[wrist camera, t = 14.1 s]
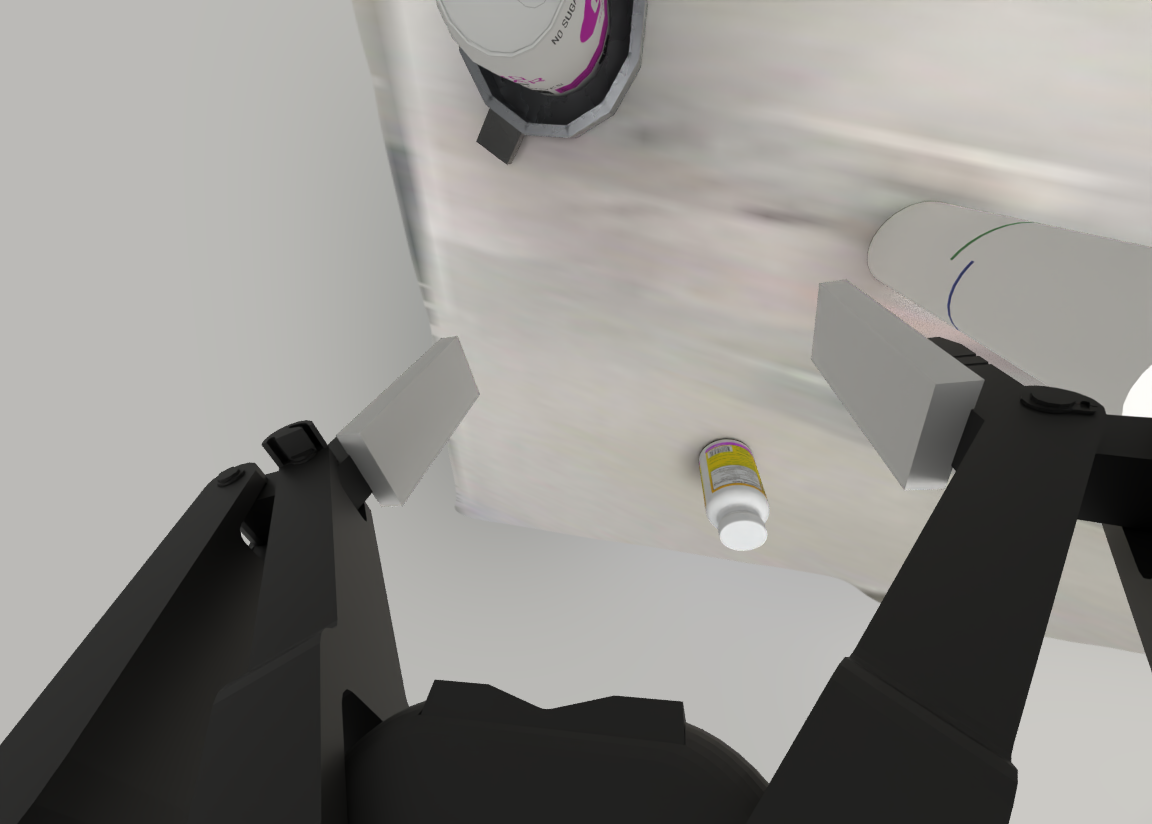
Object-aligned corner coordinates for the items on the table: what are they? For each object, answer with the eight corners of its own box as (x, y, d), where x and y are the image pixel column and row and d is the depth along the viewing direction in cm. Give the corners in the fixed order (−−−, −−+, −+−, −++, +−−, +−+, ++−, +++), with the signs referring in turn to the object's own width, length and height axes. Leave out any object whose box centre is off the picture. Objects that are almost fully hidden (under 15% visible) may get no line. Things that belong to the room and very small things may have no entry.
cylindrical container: (851, 276, 38) (1075, 430, 18) (899, 192, 34) (1261, 268, 14) (925, 293, 38) (1238, 470, 18) (983, 211, 34) (1476, 318, 14)
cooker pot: (546, -214, 26) (530, -265, 23) (708, -54, 28) (716, -79, 25) (439, 102, 36) (418, 98, 33) (566, 198, 39) (558, 203, 35)
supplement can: (608, -58, 28) (572, -211, 16) (614, 90, 33) (589, 59, 21) (498, -34, 30) (389, -157, 18) (518, 104, 34) (442, 84, 22)
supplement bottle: (734, 483, 54) (754, 565, 44) (689, 466, 54) (697, 545, 44) (763, 447, 51) (791, 528, 40) (714, 429, 50) (730, 505, 40)
